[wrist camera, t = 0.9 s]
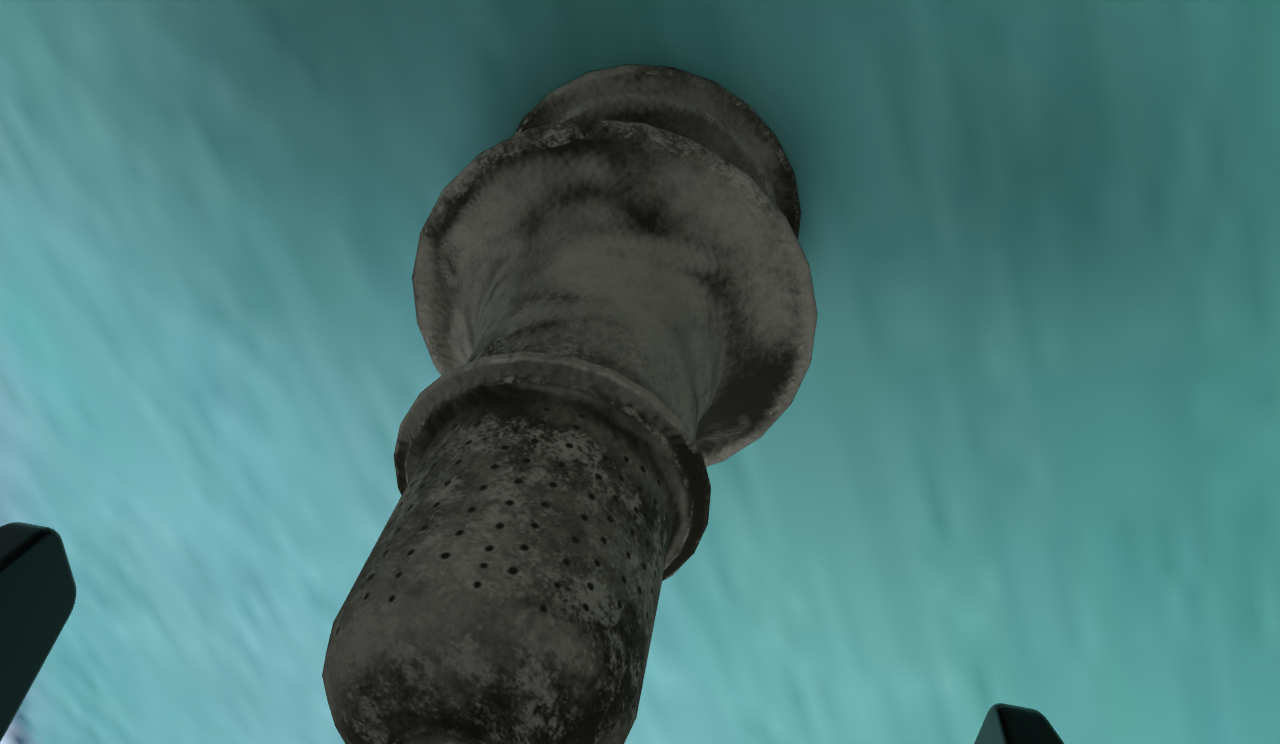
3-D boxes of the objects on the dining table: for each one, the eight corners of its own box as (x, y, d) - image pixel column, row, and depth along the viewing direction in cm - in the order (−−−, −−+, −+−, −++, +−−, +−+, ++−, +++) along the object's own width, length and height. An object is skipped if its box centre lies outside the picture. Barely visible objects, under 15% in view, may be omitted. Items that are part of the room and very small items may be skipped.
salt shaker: (450, 57, 17) (-116, 580, 7) (816, 32, 15) (798, 616, 6) (511, 362, 20) (191, 1031, 10) (820, 359, 19) (813, 1109, 9)
